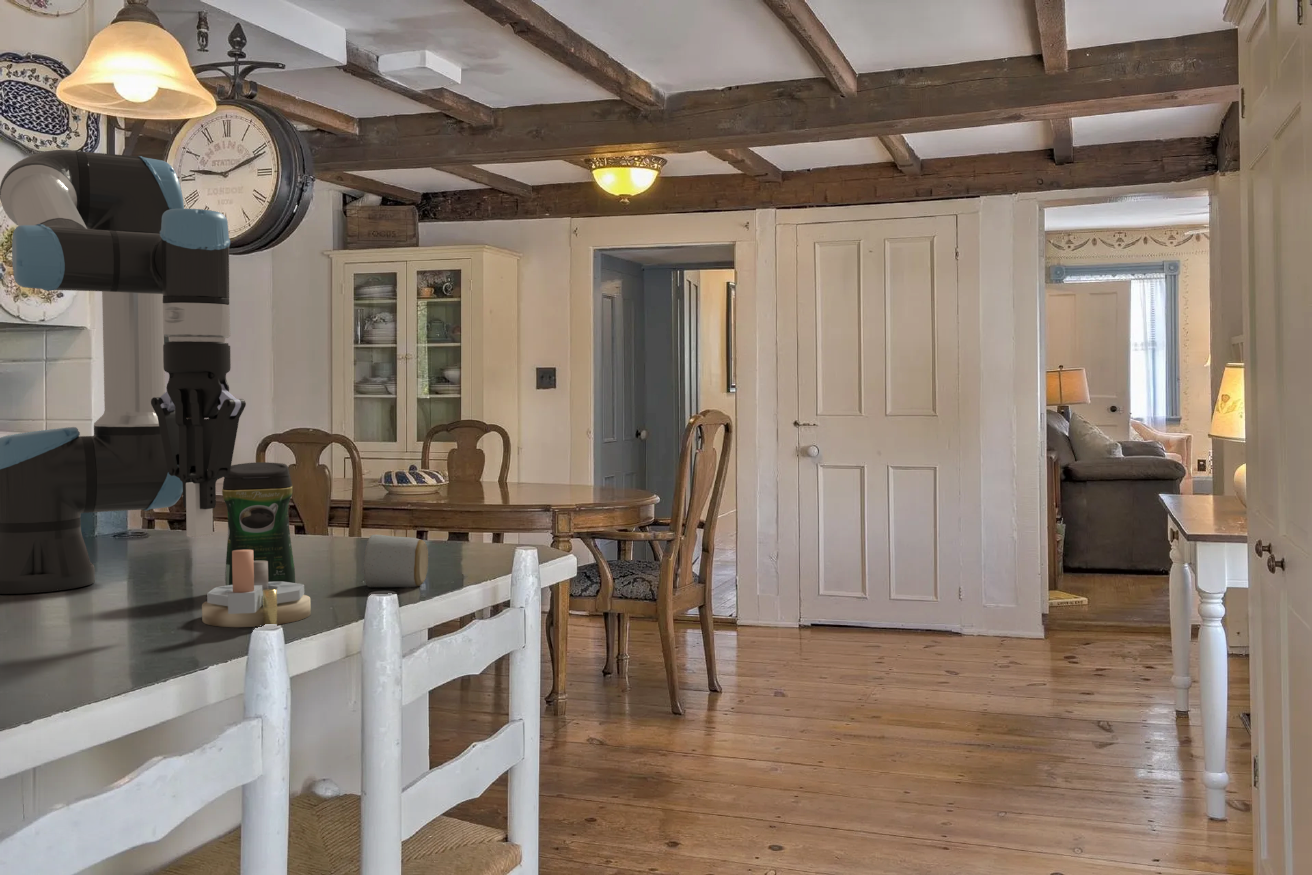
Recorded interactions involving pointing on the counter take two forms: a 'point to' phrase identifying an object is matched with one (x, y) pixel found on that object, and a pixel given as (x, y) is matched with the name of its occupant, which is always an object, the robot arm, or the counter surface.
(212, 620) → the pedestal
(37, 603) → the counter surface
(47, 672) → the counter surface
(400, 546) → the ceramic mug
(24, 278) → the robot arm
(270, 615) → the dowel pin
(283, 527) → the coffee jar
